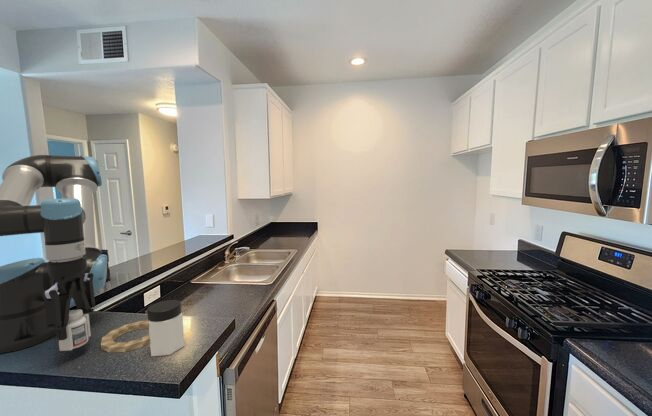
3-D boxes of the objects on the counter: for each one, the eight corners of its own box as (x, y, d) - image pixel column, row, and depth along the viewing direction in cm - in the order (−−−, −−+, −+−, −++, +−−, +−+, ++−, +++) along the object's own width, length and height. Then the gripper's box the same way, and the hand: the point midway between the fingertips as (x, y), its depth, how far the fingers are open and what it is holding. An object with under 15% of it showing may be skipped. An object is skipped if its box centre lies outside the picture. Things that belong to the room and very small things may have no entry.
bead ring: (87, 354, 76) (87, 348, 76) (123, 326, 91) (123, 321, 91) (146, 350, 77) (146, 345, 77) (172, 323, 92) (172, 319, 92)
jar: (190, 338, 82) (187, 298, 82) (178, 355, 74) (175, 311, 73) (157, 340, 82) (154, 300, 81) (142, 357, 74) (138, 313, 73)
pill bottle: (67, 341, 77) (64, 310, 76) (91, 336, 79) (88, 306, 78) (58, 352, 72) (54, 318, 71) (84, 347, 74) (81, 314, 73)
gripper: (51, 269, 64) (61, 364, 67) (106, 249, 82) (113, 324, 85) (15, 270, 64) (27, 366, 66) (79, 249, 82) (87, 325, 84)
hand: (75, 342), depth 75 cm, fingers closed on pill bottle, 5 cm apart
